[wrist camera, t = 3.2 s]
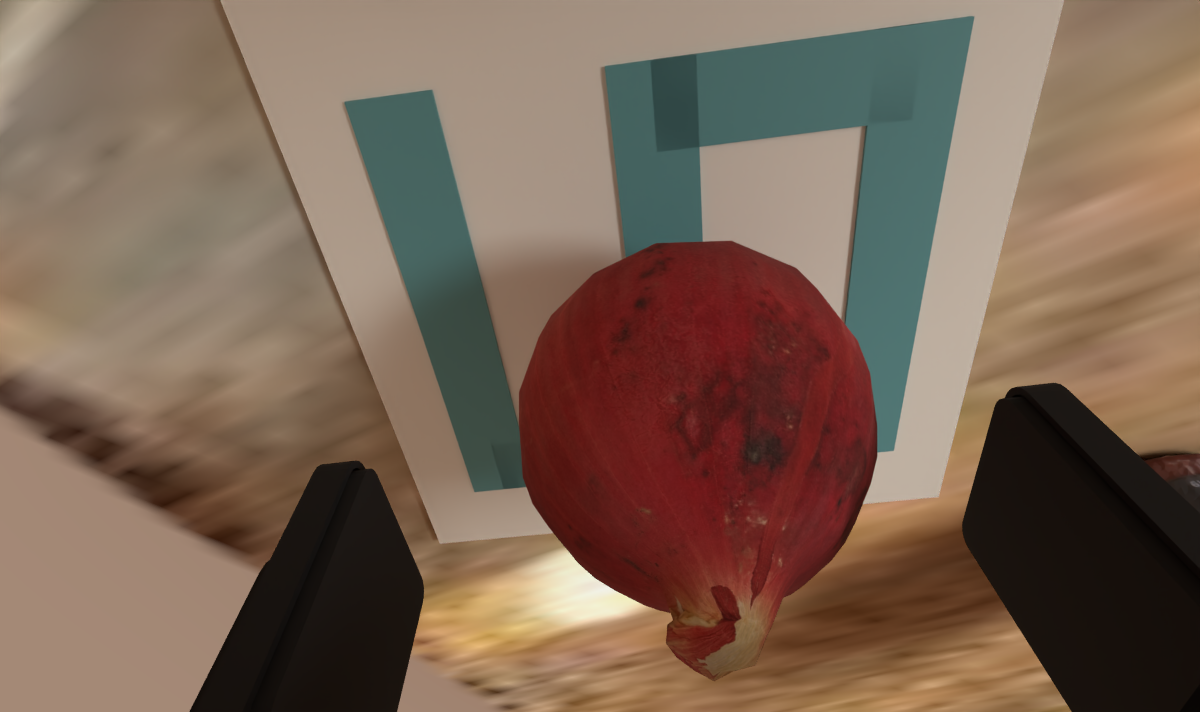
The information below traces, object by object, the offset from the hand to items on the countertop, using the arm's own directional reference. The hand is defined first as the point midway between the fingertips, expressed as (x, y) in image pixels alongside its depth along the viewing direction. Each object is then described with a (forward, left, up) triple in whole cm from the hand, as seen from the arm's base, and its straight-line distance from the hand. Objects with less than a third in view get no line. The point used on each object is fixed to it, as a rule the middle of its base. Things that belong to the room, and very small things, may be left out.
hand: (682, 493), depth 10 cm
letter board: (0, 0, -5) cm, 5 cm away
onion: (0, 0, -5) cm, 5 cm away
